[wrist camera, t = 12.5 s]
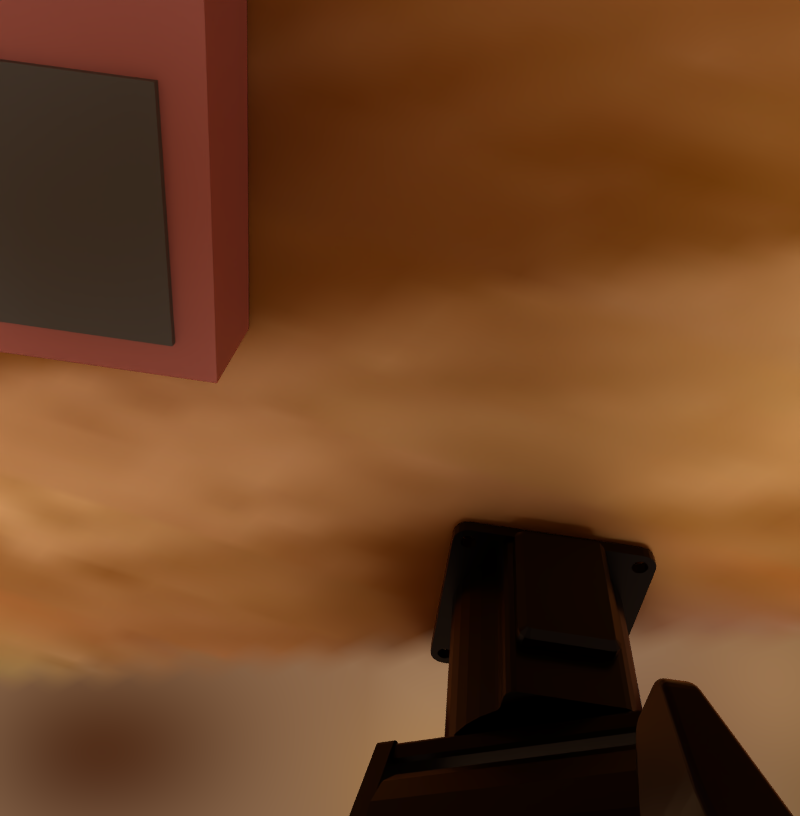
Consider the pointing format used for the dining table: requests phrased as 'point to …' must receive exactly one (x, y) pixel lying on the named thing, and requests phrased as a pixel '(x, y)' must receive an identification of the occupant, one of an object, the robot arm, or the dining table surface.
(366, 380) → the dining table surface
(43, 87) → the pink control box
